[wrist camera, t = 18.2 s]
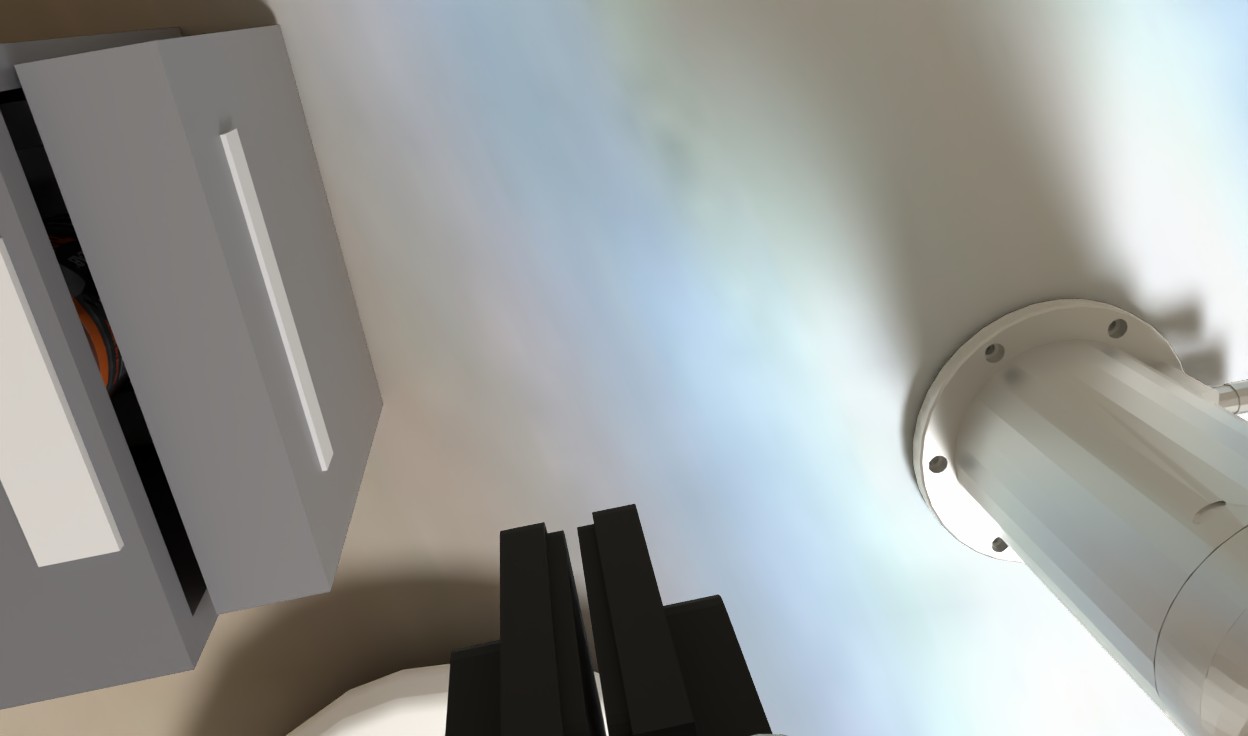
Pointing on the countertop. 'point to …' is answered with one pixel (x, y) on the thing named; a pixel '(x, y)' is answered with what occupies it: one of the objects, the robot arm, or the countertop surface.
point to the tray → (215, 292)
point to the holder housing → (76, 474)
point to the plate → (393, 707)
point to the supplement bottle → (87, 302)
